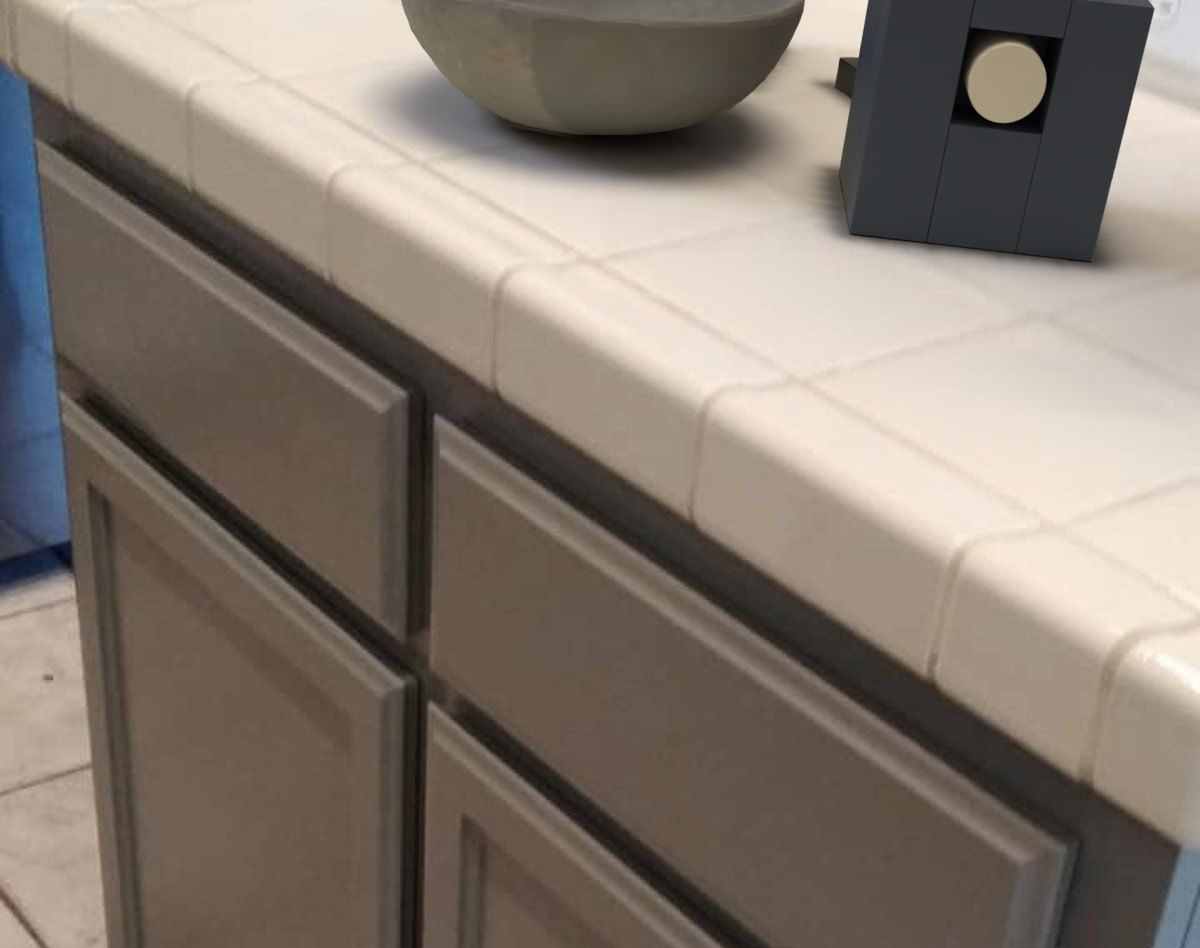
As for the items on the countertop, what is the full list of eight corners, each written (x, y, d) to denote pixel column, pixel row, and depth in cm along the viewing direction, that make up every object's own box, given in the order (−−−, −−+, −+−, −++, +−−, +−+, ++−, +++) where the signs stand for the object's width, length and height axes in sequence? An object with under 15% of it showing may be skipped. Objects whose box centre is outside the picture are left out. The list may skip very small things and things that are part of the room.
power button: (953, 96, 98) (968, 19, 96) (1026, 105, 99) (1043, 28, 97) (961, 118, 95) (977, 39, 93) (1036, 127, 96) (1054, 49, 94)
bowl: (536, 205, 98) (551, 34, 93) (319, 80, 111) (323, -75, 106) (859, 160, 109) (886, 5, 105) (627, 51, 122) (642, -90, 118)
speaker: (838, 173, 107) (882, -86, 100) (1063, 199, 107) (1123, -57, 100) (849, 234, 99) (898, -42, 92) (1092, 262, 100) (1159, -11, 92)
